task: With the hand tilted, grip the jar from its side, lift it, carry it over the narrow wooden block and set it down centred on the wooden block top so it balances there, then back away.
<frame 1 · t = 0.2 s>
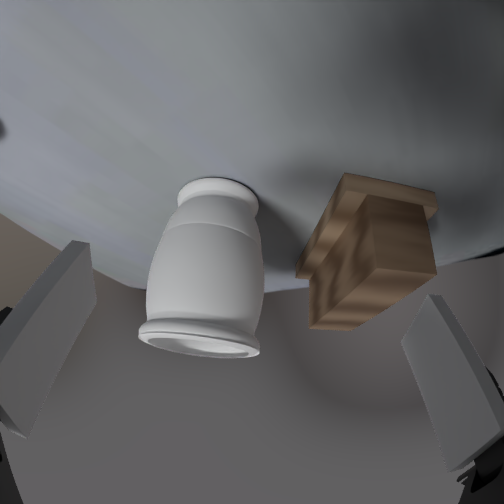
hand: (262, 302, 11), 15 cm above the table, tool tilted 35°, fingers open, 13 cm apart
jar: (218, 200, 33), on the table
wooden block: (355, 234, 36), on the table
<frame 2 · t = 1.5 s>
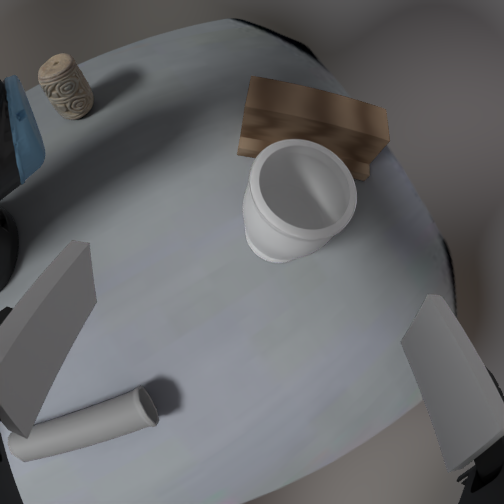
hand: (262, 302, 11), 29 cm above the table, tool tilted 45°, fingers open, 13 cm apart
tube: (78, 427, 34), on the table
jar: (276, 233, 43), on the table
carving: (78, 110, 45), on the table
wooden block: (305, 140, 47), on the table
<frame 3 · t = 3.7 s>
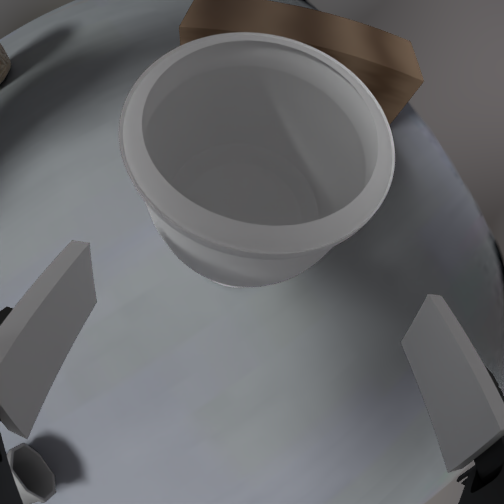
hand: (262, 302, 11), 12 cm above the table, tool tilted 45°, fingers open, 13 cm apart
jar: (236, 235, 25), on the table
wooden block: (288, 91, 29), on the table
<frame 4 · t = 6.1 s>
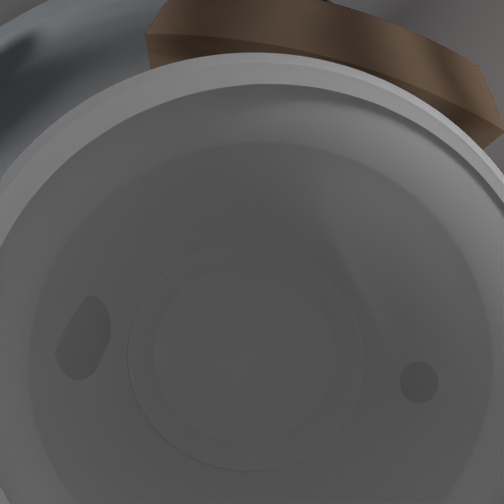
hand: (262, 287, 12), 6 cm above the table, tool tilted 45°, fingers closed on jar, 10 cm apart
jar: (239, 353, 17), on the table, touching gripper
wooden block: (311, 125, 22), on the table
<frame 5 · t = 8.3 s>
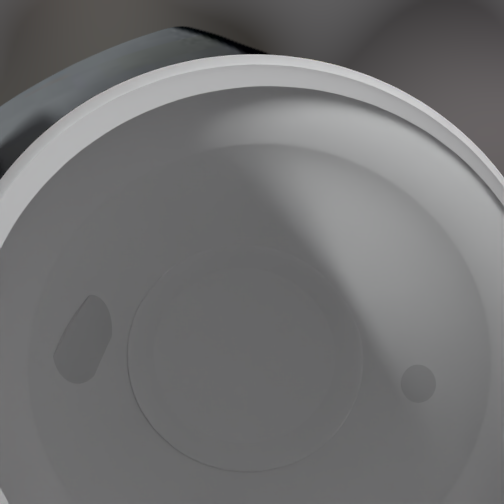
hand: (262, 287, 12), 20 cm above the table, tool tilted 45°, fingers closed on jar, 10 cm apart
jar: (238, 354, 17), point 14 cm above the table, touching gripper
when the fingers open (16 cm above the table, at t = 10.5 s): jar stays where it is, resting on wooden block.
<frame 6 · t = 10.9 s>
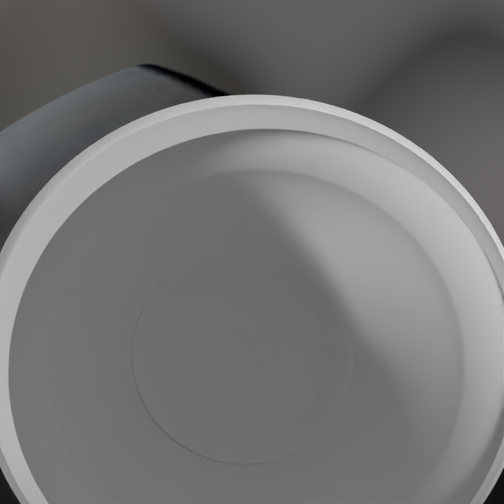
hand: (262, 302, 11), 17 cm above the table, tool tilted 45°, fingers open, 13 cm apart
jar: (236, 353, 18), point 9 cm above the table, touching wooden block
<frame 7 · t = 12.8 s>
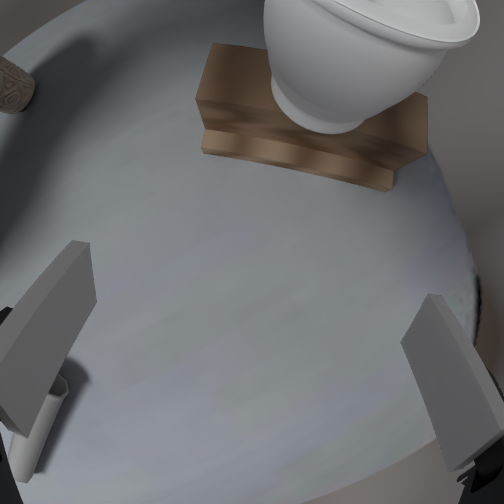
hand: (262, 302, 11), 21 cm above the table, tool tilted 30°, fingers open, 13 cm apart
tube: (38, 429, 32), on the table
jar: (321, 91, 23), point 9 cm above the table, touching wooden block
carving: (22, 98, 32), on the table
wooden block: (304, 127, 32), on the table
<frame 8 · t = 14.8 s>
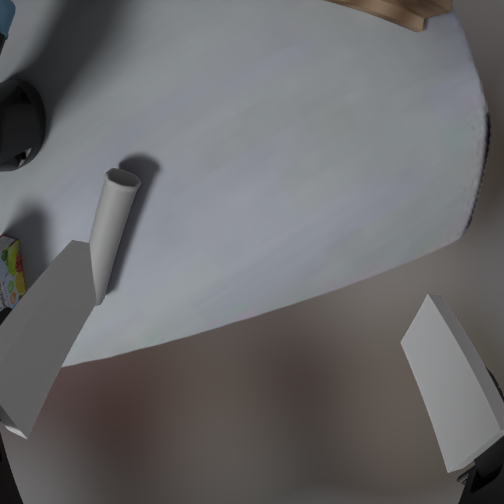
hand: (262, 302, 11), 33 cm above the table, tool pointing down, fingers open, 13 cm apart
tube: (109, 240, 48), on the table
snack box: (17, 279, 53), on the table
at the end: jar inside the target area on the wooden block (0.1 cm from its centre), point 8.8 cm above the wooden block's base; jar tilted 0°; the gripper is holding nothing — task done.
